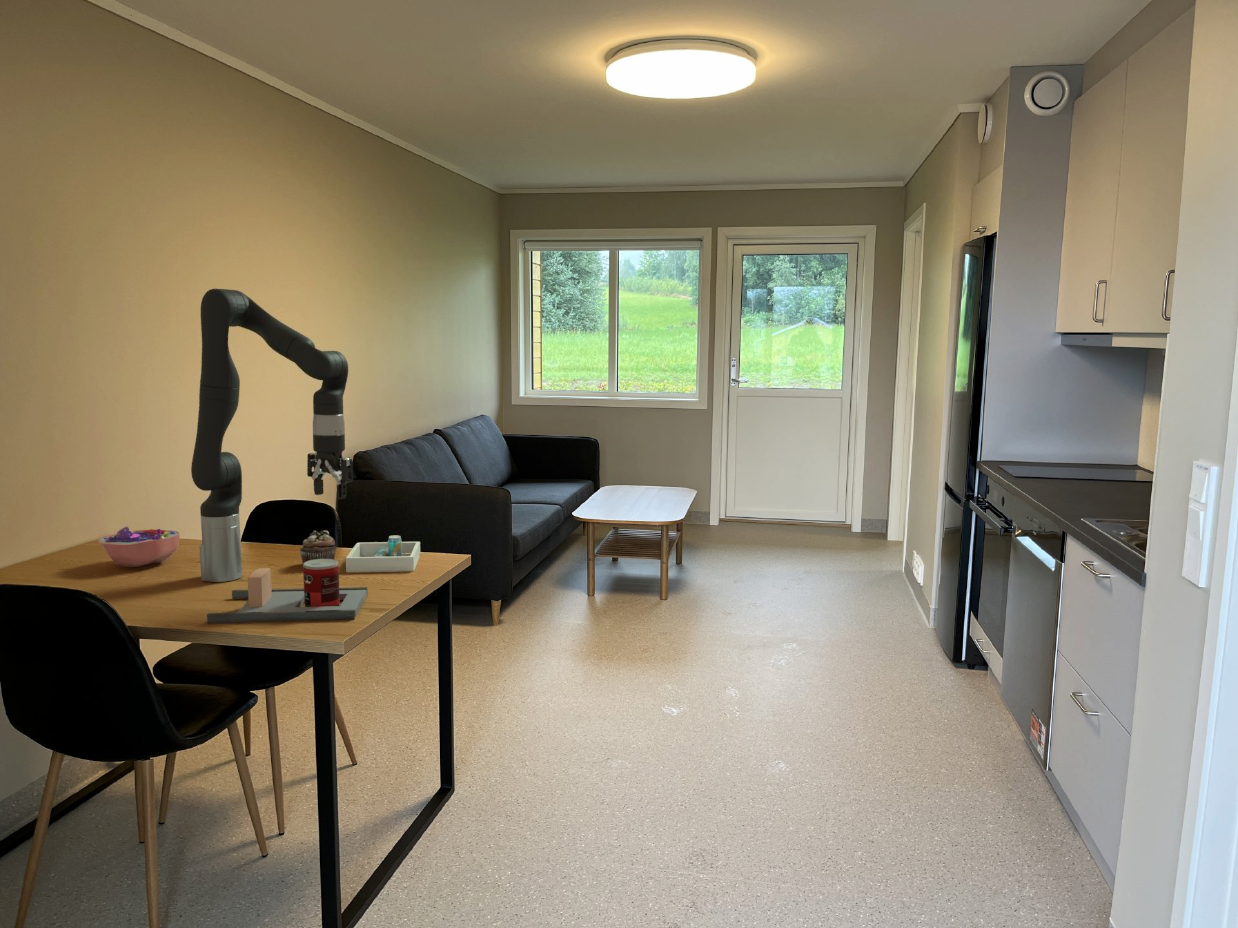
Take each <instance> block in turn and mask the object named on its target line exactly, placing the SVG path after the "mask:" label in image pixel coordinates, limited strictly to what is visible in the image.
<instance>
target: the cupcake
mask: <svg viewBox="0 0 1238 928" xmlns="http://www.w3.org/2000/svg"><path fill="white" fill-rule="evenodd" d="M336 550H337V546H336V541H335V539H334V538H333V537H332V536H330V533H329V531H328V530H327V529H325V530H321V531H317V530H313V531H311V533H310V534H309V536H308V537H307V538H306V539H304V540H303V541H302V547H301V548H300V549H299V553H300V556H301V562H302V565H303V564H304V563H305V562H307V561H310V560H315V559H333V560H335V556H336V552H337V551H336Z"/></svg>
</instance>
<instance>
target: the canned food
mask: <svg viewBox="0 0 1238 928" xmlns="http://www.w3.org/2000/svg"><path fill="white" fill-rule="evenodd" d="M302 565H303V566H302V574H303V576H302V577H303V589H304V599H305V602H304V607H326V606H340V605H341V604H340V598H339V588H340V572H339V570H340V569H339V561H338V560H336V559H334V560H333V559H315V560H310V561H307V562H305V563H304V564H303V563H302Z"/></svg>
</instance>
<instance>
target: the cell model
mask: <svg viewBox="0 0 1238 928" xmlns="http://www.w3.org/2000/svg"><path fill="white" fill-rule="evenodd" d="M180 536H181V532H180V531H176V530H166V529H161V528H156V529H152V528H151V529H138V530H132V531H130V528H129V526H124V527H122V528H121V529H119V530H118V531H117V532H116V533H115V534H111V535H107V536H104V537H102V538H99V539H98V543H99V544H100V545H101V546H102V548H103V550H104V551H105V553H106V554H107V556H108V557H109V558H110V559H111V560H112V562H113V563H114V564H116V565H117V566H121V567H125V568H126V567H127V568H138V567H142V566H145V565H148V564H156V563H161V562H165V560H168V559H169V558H170V557H171V556H172V555H174V553H175V552H176V551H177V549H178V548H179V542H180Z"/></svg>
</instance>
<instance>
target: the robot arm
mask: <svg viewBox="0 0 1238 928" xmlns="http://www.w3.org/2000/svg"><path fill="white" fill-rule="evenodd" d="M231 327H234V328H235V327H238V328H243V329H246V330H249V331H251V332H253V333H254V334H256V335H257V336H260V337H261V338H262V339H263V341H264V342H265V343H266V344H267V345H268V347H269V348H271V350H273V351H274V352H275V353H277V354H278V355H281V356H282V357H283V358H286V359H287V360H288V361H291V362H293V364H295V365H296V366H297V368H298V369H300V370H301V371H302V372H304V374H306V375H307V376H308V377H311V378H312V379H315V380H318V381H321V382H322V384H321V387H320V388H319V389H317V390H316V391H315V392H314V393H313V397H312V403H313V404H312V407H313V408H312V409H313V411H312V412H313V416H312V448H313V449H312V450H313V452H312V453H311V452H310V453H307V459H306V461H307V463H306V464H307V467H306V468H307V469H306V471H307V473H306V475H307V477H309V478H311V479H312V480H313V491H314V495H316V496H319V495H320V496H321V495H324V479H323V478H324V477H325V475H326V474H331V477H332V478H334V479H335V481H336V498H337V499H338V500H345V499H346V498H347V494H348V493H347V491H348V490H347V489H348V488H347V484H348V483H351V482H353V481H354V475H353V474H354V473H353V471H354V470H353V458H352V457H343V452H344V451H345V450H346V431H345V430H346V428H345V426H346V425H345V419H344V418H345V417H344V416H345V415H344V394H345V390H346V386H347V382H348V376H349V364H348V360H347V357H346V356H345V355H344V354H343V353H342V352H340V351H337V350H320V349H318V348H316V345H315V343H314V341H312V340H311V339H310V338H309V337H308V336H306V335H304V334H302V333H300V332H299V331H297V330H295V329H293V328H291V327H290V326H289V325H286V324H285V323H284V322H281V320H278V319H277V318H276V317H274V316H273V315H271V314H270V313H269V312H267V311H266V310H265V309H264V308H262V307H261V306H260V305H259V304H257V303H256V302H255V301H254V300H253V299H251V297H249V296H248V295H246V294H245V293H243V292H242V291H240V290H236V289H226V288H211V289H208V290H207V291H206V292H205V293H204V295H203V296H202V299H201V301H200V331H201V369H200V380H199V393H198V394H199V395H198V399H199V401H198V415H197V416H198V417H197V425H196V427H197V429H196V434H195V435H196V437H195V442H194V448H193V454H192V460H191V467H190V469H191V471H190V473H191V479H192V481H193V483H194V485H195V486H196V487H197V488H198V489H199V490H201V491H205V492H207V491H208V492H209V491H210V493H209V495H208V497H207V498H206V499H205V500H204V501H203V502H202V503H201V504H200V506H199V507H200V508H199V509H200V512H199V513H200V527H201V529H200V530H201V543H200V545H199V561H200V562H199V563H200V575H201V578H200V579H201V582H202V581H204V582H212V583H221V582H223V583H224V582H229V581H235V580H238V579H240V578H242V577H243V563H242V562H243V561H242V543H241V542H242V541H241V540H242V539H241V523H240V506H241V503H242V501H243V474H242V471H243V470H242V467H241V463H240V461H239V459H238V457H237V456H236V455H235V454H233V453H231V452H229V451H222V448H223V441H224V437H225V434H226V431H228V428H229V426H230V425H231V423H232V420H233V418H234V416H235V415H236V413H237V411H238V407H239V402H240V388H241V387H240V386H241V380H240V375H239V373H238V369H237V367H236V364H235V363H234V360H233V358H232V355H231V352H230V348H229V332H230V328H231Z"/></svg>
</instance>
